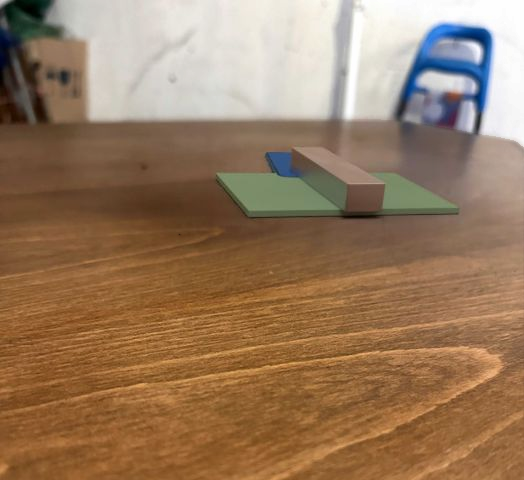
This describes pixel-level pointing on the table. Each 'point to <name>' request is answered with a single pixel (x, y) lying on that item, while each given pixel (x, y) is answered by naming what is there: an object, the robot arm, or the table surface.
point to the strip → (338, 179)
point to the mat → (315, 204)
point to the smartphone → (280, 163)
